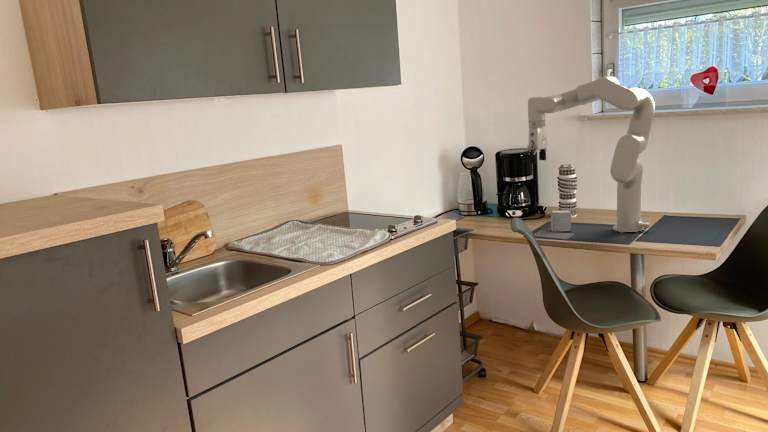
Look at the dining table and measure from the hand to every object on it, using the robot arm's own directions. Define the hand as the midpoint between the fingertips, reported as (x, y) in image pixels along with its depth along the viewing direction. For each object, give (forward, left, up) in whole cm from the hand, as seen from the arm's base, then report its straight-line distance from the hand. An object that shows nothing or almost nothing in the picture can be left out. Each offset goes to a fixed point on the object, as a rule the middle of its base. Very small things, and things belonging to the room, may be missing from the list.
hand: (537, 161), depth 283 cm
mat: (-16, +20, -29) cm, 38 cm away
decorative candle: (-7, -16, -29) cm, 34 cm away
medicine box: (-16, +12, -29) cm, 35 cm away
